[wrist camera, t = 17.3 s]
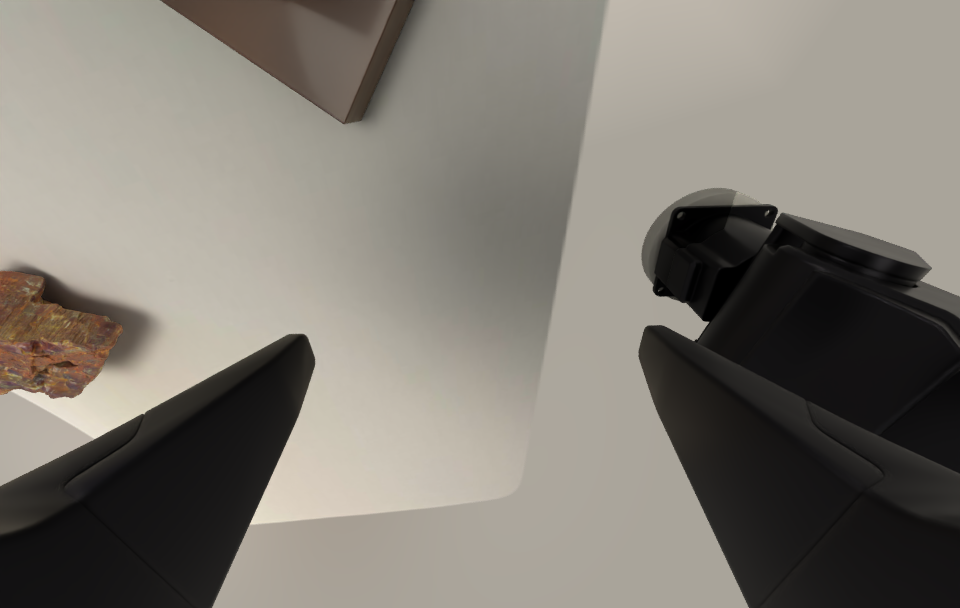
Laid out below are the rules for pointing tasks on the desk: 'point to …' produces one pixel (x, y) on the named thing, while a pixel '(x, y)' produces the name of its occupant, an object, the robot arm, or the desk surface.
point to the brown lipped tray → (309, 43)
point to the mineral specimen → (48, 340)
